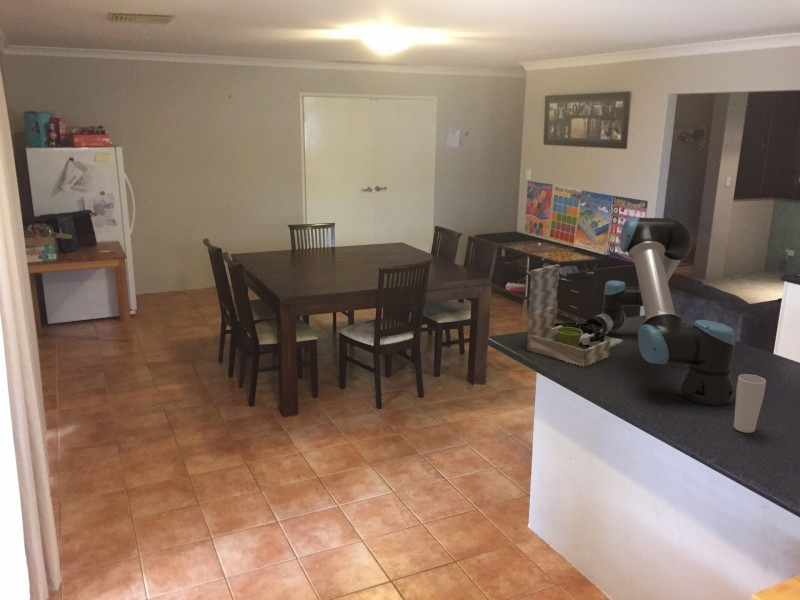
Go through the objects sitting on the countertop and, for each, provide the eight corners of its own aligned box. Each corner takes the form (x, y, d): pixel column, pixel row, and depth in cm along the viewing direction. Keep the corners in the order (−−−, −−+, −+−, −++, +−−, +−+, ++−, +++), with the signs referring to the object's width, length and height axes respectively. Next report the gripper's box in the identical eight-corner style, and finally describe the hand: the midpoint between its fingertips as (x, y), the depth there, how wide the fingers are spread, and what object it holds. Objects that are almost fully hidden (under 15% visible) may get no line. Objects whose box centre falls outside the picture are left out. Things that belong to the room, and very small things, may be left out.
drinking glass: (749, 423, 184) (757, 373, 180) (763, 435, 177) (771, 383, 174) (725, 424, 184) (733, 373, 180) (738, 435, 177) (746, 383, 173)
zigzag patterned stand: (551, 340, 254) (557, 264, 246) (608, 356, 237) (616, 275, 229) (525, 349, 243) (530, 270, 235) (584, 367, 226) (591, 282, 218)
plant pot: (578, 349, 244) (580, 327, 242) (582, 358, 235) (585, 335, 232) (553, 348, 245) (554, 326, 242) (556, 357, 236) (558, 334, 233)
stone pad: (590, 333, 263) (590, 331, 262) (622, 342, 253) (622, 340, 252) (570, 340, 253) (570, 339, 253) (603, 350, 243) (603, 348, 243)
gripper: (627, 342, 244) (597, 355, 230) (569, 327, 262) (538, 338, 248) (629, 323, 242) (599, 334, 228) (571, 309, 260) (539, 319, 246)
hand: (567, 336), depth 238 cm, fingers open, 13 cm apart
